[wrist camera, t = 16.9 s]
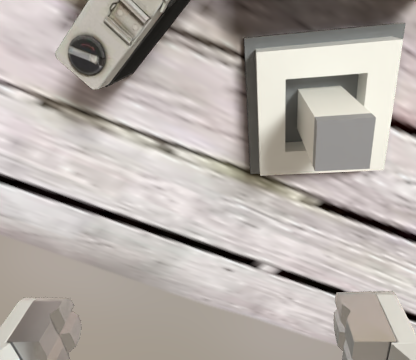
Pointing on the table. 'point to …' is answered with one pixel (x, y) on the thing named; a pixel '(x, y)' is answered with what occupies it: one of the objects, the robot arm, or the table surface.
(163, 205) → the table surface
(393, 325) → the robot arm
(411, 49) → the table surface
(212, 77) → the table surface
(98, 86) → the camera
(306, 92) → the plug
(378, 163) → the frame
